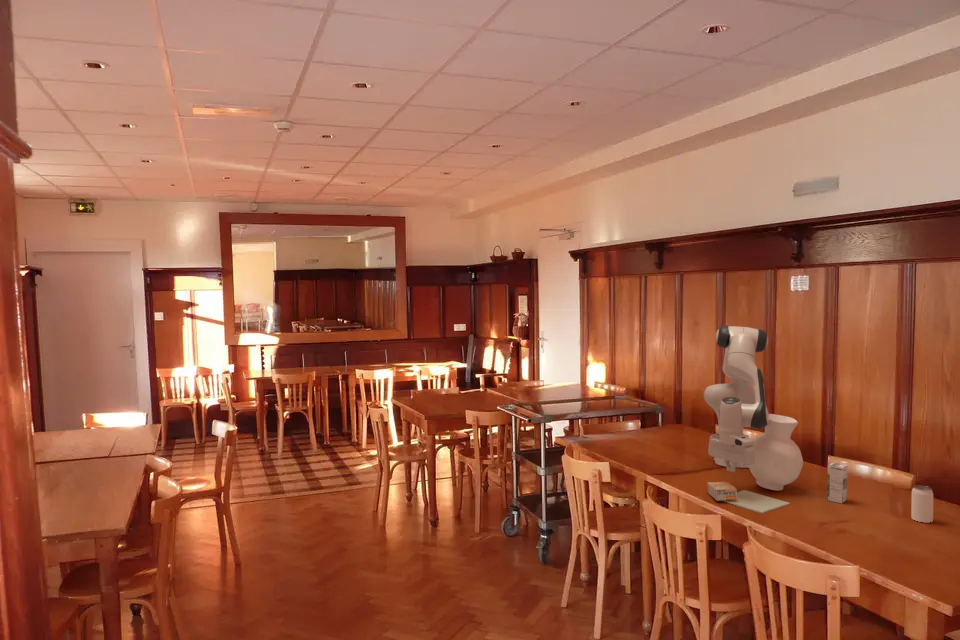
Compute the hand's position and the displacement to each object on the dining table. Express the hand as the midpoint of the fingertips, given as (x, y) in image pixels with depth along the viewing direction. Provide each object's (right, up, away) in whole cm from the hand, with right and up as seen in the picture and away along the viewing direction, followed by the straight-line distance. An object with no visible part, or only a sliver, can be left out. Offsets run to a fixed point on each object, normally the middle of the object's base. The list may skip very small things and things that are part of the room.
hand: (731, 471), depth 265 cm
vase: (+20, -9, +9) cm, 23 cm away
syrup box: (+39, -10, -8) cm, 41 cm away
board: (+6, -10, -8) cm, 14 cm away
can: (+57, -11, -31) cm, 66 cm away
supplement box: (-4, -8, +4) cm, 10 cm away
